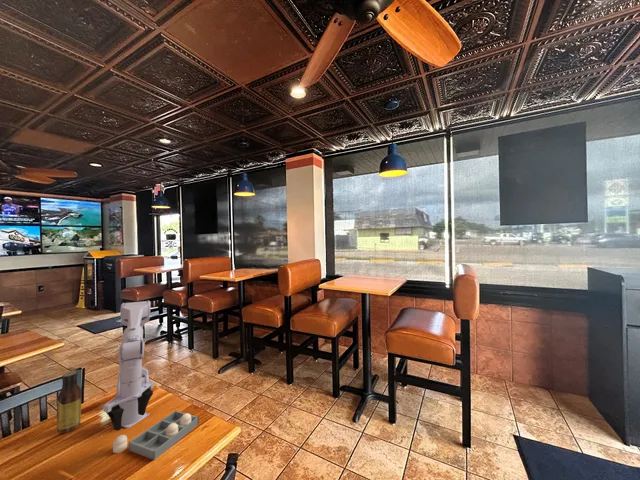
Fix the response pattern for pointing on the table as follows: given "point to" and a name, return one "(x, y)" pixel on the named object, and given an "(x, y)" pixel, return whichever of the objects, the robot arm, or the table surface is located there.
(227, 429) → the table surface
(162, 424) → the carton
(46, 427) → the table surface
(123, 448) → the egg
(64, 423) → the sauce bottle
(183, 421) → the egg
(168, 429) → the egg
